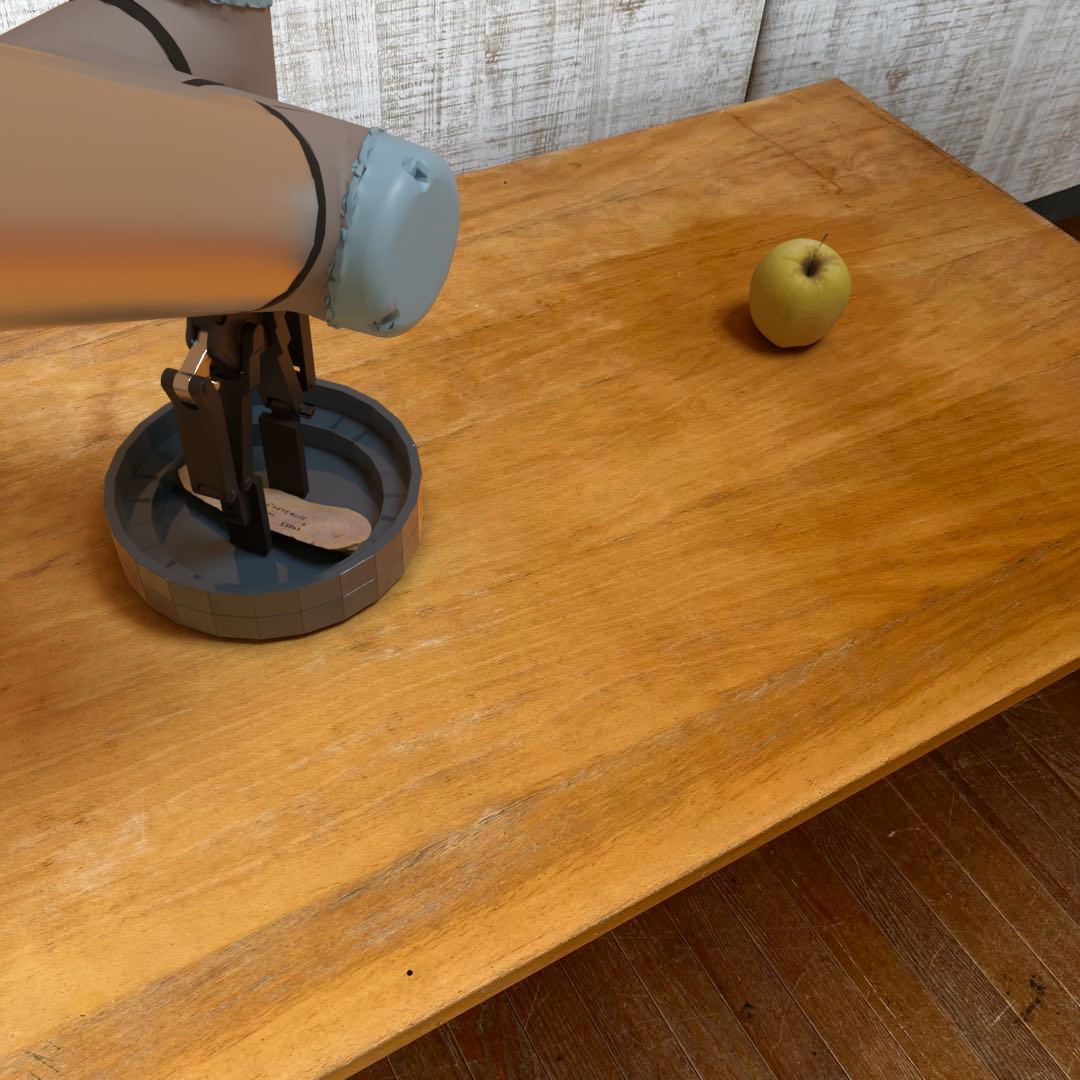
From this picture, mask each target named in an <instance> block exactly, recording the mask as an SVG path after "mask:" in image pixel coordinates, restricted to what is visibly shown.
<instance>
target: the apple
mask: <svg viewBox="0 0 1080 1080" xmlns="http://www.w3.org/2000/svg"><path fill="white" fill-rule="evenodd" d="M828 236H829V233H828V232H827V233H826V234H825V235H824V237H823V238H822V240H821V241H819V240H817V239H813V238H806V237H805V238H804V237H803V238H802V237H801V238H800V237H799V238H794V239H790V240H786V241H784V242H782V243H780V244H778V245H775V246H774V247H773V248H771V249H770V250H768V252H767V253H765V255H764V256H763V257H762V258H761V259H760V260H759V262H758V263H757V265H756V267H755V268H754V270H753V272H752V275H751V278H750V282H749V296H748V306H749V312H750V315H751V319H752V321H753V323H754V325H755V327H756V329H758V331H759V332H760V333H761V334H762V335H763V336H764V337H765V338H766V339H767V340H768V341H769V342H771V343H772V344H773V345H775V346H777V347H779V348H782V349H785V348H792V347H805V346H809V345H812V344H814V343H816V342H817V341H819V340H820V339H823V337H825V335H826V334H827V333H829V332H830V330H832V328H833V327H834V326H835V324H836V323H837V322H838V321H839V320H840V318H841V317H842V315H843V313H844V312H845V310H846V308H847V306H848V304H849V301H850V298H851V294H852V293H851V292H852V286H853V285H852V278H851V277H852V276H851V273H850V271H849V270H850V269H848V267H847V265H846V263H845V261H844V260H843V259H842V257H841V255H840V254H838V253H837V252H836V251H835V250H834V249H833V248H832V247H830V246H829V245H827V244H825V243H824V241H825V240H826V238H827V237H828Z"/></svg>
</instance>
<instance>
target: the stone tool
mask: <svg viewBox="0 0 1080 1080" xmlns="http://www.w3.org/2000/svg"><path fill="white" fill-rule="evenodd" d="M178 474H179V477H180V479H181V482H182V483H183V487H184V488H185V489H186V490H187V491H189V492H191V493H192V494H193V495H195V496H197V497H198V498H200V499H202V500H203V501H205V502H206V503H208V504H211V505H212V506H214V507H216V508H219V510H221V511H222V508H221V507H222V506H221V503H220V500H217V499H213V498H210V497H206V496H203V495H200V494H196V493H194V492H193V491H192V488H191V483H190V479H189V474H188V470H187V466H186V465H184V466H183V467H181V468H180V469H179V470H178ZM264 494H265V500H266V506H267V512H268V518H269V524H270V530H272V531H275V532H278V533H281V534H284V535H286V536H290V537H293V538H295V539H297V540H300V541H303V542H306V543H308V544H312V545H314V546H318V547H321V548H324V549H328V550H334V551H340V552H342V553H345V554H352V553H353V552H354V551H355V550H356V549H357V548H358V547H359V546H360V545H362V544H363V543H364V542H365V541H366V540H367V539H368V538H369V536H370V534H371V532H372V530H371V525H370V523H369V521H368V520H367V519H366V518H365V517H363V516H362V515H361V514H359V513H357V512H355V511H352V510H350V509H347V508H340V507H333V506H325V505H320V504H315V503H311V502H308V501H305V500H302V499H300V498H298V497H295V496H293V495H290V494H287V493H285V492H283V491H280V490H276V489H270V488H264Z"/></svg>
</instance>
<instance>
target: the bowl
mask: <svg viewBox="0 0 1080 1080" xmlns="http://www.w3.org/2000/svg"><path fill="white" fill-rule="evenodd" d="M303 397H304V400H305V401H308V402H312V403H315V405H316V409H315V413H314V416H313V417H312V418H311V419H306V418H302V417H300V419H301V427H302V435H303V444H304V452H305V460H306V468H307V476H308V484H309V492H308V494H307V496H306V497H305V498H302V497H299V496H295V495H293V496H295V497H298V498H300V499H302V500H305V501H308V502H311V503H315V504H320V505H325V506H333V507H340V508H347V509H350V510H352V511H355V512H357V513H359V514H361V515H362V516H363V517H365V518H366V519H367V520H368V521H369V523H370V525H371V530H372V532H371V534H370V536H369V538H368V539H367V540H366V541H365V542H364V543H363V544H362V545H360V546H359V547H358V548H357V549H356V550H355V551H354V552H353V553H352V554H345V553H342V552H340V551H334V550H328V549H324V548H321V547H318V546H314V545H312V544H308V543H306V542H303V541H300V540H297V539H295V538H293V537H290V536H286V535H284V534H281V533H278V532H275V531H272V530H271V536H272V542H273V547H272V549H271V550H270V552H269V553H268V554H267V553H263V552H260V551H257V550H253V549H250V548H246V547H243V546H239V545H236V544H233V543H231V540H230V535H229V530H228V525H227V521H226V520H225V519H224V517H223V513H222V511H221V510H219V508H216V507H214V506H212V505H211V504H208V503H206V502H205V501H203V500H202V499H200V498H198V497H197V496H195V495H193V494H192V493H191V492H189V491H187V490H186V489H185V488H184V487H183V483H182V482H181V479H180V477H179V474H178V470H179V469H180V468H181V467H183V466H184V465H186V461H185V457H184V452H183V448H182V444H181V439H180V435H179V430H178V426H177V422H176V417H175V413H174V408H173V404H172V402H171V401H169V402H167V403H165V404H163V405H162V406H161V407H160V408H158V409H156V410H155V411H154V412H153V413H151V414H150V415H148V416H147V417H146V418H144V419H143V420H141V421H140V422H138V424H137V425H136V426H135V427H134V428H133V429H132V430H131V432H130V433H129V434H128V436H127V437H126V438H125V439H124V440H123V441H122V443H121V444H120V445H119V446H118V447H117V448H116V450H115V453H114V455H113V457H112V459H111V461H110V464H109V466H108V468H107V470H106V473H105V476H104V479H103V495H102V497H103V498H102V501H103V502H102V508H103V509H102V510H103V512H104V516H105V519H106V522H107V526H108V528H109V532H110V535H111V537H112V541H113V544H114V547H115V550H116V553H117V557H118V559H119V562H120V564H121V567H122V571H123V572H124V575H125V577H126V578H125V579H126V580H127V582H128V583H129V584H130V586H132V588H133V589H134V590H135V591H136V592H137V594H138V595H139V596H140V597H141V599H143V601H144V602H145V603H146V604H147V605H148V606H149V608H151V609H153V610H155V611H156V612H159V613H160V614H161V615H163V616H165V617H166V618H168V619H170V620H171V621H173V622H174V623H176V624H178V625H180V626H183V627H186V628H190V629H193V630H196V631H200V632H203V633H206V634H210V635H213V636H216V637H220V638H236V639H248V640H249V639H250V640H267V639H268V640H269V639H275V638H284V637H291V636H298V635H304V634H308V633H311V632H313V631H317V630H320V629H322V628H325V627H329V626H331V625H335V624H337V623H339V622H342V621H345V620H347V619H348V618H350V617H352V616H353V615H355V614H357V613H358V612H360V611H362V610H364V609H365V608H367V607H369V606H370V605H372V604H373V603H375V602H376V601H378V600H379V599H381V597H382V596H383V595H384V594H385V593H386V592H387V591H388V590H389V589H390V588H391V587H392V586H393V585H394V584H395V583H396V582H397V581H398V580H399V579H400V578H401V577H402V576H403V575H404V573H405V572H406V569H407V568H408V566H409V565H410V563H411V561H412V559H413V557H414V556H415V554H416V551H417V549H418V548H419V545H420V541H421V535H422V528H423V522H424V490H423V489H424V488H423V486H424V485H423V484H424V483H423V470H422V465H421V460H420V455H419V454H420V453H419V449H418V446H417V444H416V442H415V441H414V438H413V437H412V435H411V434H410V433H409V431H408V429H407V428H406V426H405V425H404V423H403V422H402V420H401V419H400V418H399V417H398V416H396V415H395V414H394V413H393V412H392V411H390V410H389V409H388V408H387V407H386V406H385V405H383V404H382V403H381V402H379V400H377V399H375V398H373V397H371V396H369V395H368V394H365V393H363V392H361V391H359V390H357V389H355V388H353V387H351V386H348V385H346V384H342V383H338V382H335V381H330V380H327V379H323V378H319V377H316V385H315V388H314V389H313V391H312V392H306V391H305V392H304V395H303ZM263 411H264V412H268V413H271V409H269V408H265V407H264V405H263V402H262V399H261V397H260V394H259V392H258V389H257V387H256V388H255V389H254V390H253V391H252V422H253V474H255V475H259V476H262V482H263V488H269V483H268V477H267V471H266V465H265V459H264V453H263V447H262V440H261V434H260V428H259V422H258V418H259V416H260V415H261V414H262V412H263ZM287 494H288V493H287ZM290 495H291V494H290Z"/></svg>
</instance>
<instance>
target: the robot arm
mask: <svg viewBox="0 0 1080 1080" xmlns="http://www.w3.org/2000/svg"><path fill="white" fill-rule="evenodd" d="M272 7H273V0H67V1H65V2H62V3H61V4H58V5H56V6H55V7H53V8H51V9H48V10H46V11H44V12H43V13H40V14H39V15H37V16H35V17H33V18H31V19H29V20H27V21H25V22H23V23H21V24H18V25H17V26H15V27H13V28H11V29H9V30H7V31H5V32H2V33H1V34H0V333H3V332H4V333H5V332H17V331H18V332H19V331H28V330H29V331H30V330H31V331H32V330H43V329H54V328H67V327H80V326H92V325H93V326H94V325H107V324H119V323H120V324H121V323H131V322H132V323H133V322H142V321H153V320H154V321H157V320H169V319H170V320H171V319H180V318H182V319H183V318H185V319H186V320H185V321H186V322H185V323H186V324H185V335H184V336H185V337H184V338H185V344H186V346H187V348H188V350H189V351H188V353H187V355H186V356H185V359H184V360H183V363H182V365H181V366H180V368H179V369H177V368H173V367H166V368H165V369H164V370H163V371H162V373H161V376H160V386H161V389H162V390H163V391H164V393H165V394H166V396H167V397H168V399H169V401H170V402H172V404H173V408H174V413H175V417H176V422H177V426H178V430H179V435H180V439H181V444H182V448H183V452H184V457H185V461H186V466H187V470H188V474H189V479H190V483H191V488H192V491H193V492H194V493H196V494H200V495H203V496H206V497H210V498H213V499H217V500H220V503H221V506H222V507H221V508H222V513H223V517H224V519H225V520H226V521H227V525H228V530H229V535H230V540H231V543H233V544H236V545H239V546H243V547H246V548H250V549H253V550H257V551H260V552H263V553H267V554H268V553H269V552H270V550H271V549H272V547H273V542H272V536H271V530H270V524H269V518H268V512H267V506H266V500H265V494H264V488H263V482H262V476H259V475H255V474H253V422H252V391H253V390H254V389H255V388H256V387H257V389H258V392H259V394H260V397H261V399H262V402H263V405H264V407H265V408H269V409H271V413H268V412H264V411H263V412H262V414H261V415H260V416H259V418H258V422H259V428H260V434H261V440H262V447H263V453H264V459H265V465H266V471H267V477H268V483H269V488H270V489H276V490H280V491H283V492H285V493H288V494H291V495H295V496H299V497H302V498H305V497H306V496H307V494H308V492H309V484H308V476H307V468H306V460H305V452H304V444H303V435H302V427H301V419H300V417H302V418H306V419H311V418H312V417H313V416H314V413H315V409H316V405H315V403H312V402H308V401H305V400H304V397H303V395H304V392H305V391H306V392H312V391H313V389H314V388H315V385H316V378H317V376H316V375H317V374H316V367H315V366H316V365H315V357H314V349H313V348H314V347H313V341H312V340H313V339H312V332H311V331H312V330H311V323H310V321H311V320H310V317H312V318H315V319H318V320H320V321H323V322H324V323H325V322H326V325H327V327H330V328H333V329H334V330H341V329H345V330H349V331H353V332H357V333H361V334H365V335H368V336H372V337H376V338H382V339H391V338H396V337H399V336H402V335H404V334H407V333H408V332H410V331H412V329H413V328H415V327H416V326H417V325H418V324H419V323H420V322H421V321H422V320H424V318H425V317H426V315H428V313H429V312H430V310H431V309H432V307H433V306H434V305H435V303H436V301H437V299H438V298H439V295H440V294H441V292H442V289H443V288H444V285H445V283H446V281H447V278H448V275H449V273H450V269H451V266H452V262H453V259H454V255H455V251H456V246H457V241H458V235H459V231H460V225H461V224H460V222H461V199H460V193H459V188H458V182H457V180H456V177H455V174H454V172H453V170H452V169H451V167H450V165H449V164H448V162H447V161H446V160H445V159H444V157H442V155H441V154H439V153H438V152H436V151H435V150H434V149H431V148H429V147H426V146H423V145H420V144H418V143H415V142H412V141H410V140H406V139H404V138H401V137H398V136H396V135H394V134H391V133H389V131H388V130H386V129H385V128H381V127H378V126H371V127H369V126H368V127H367V126H364V125H361V124H357V123H354V122H351V121H347V120H345V119H341V118H338V117H334V116H331V115H327V114H326V113H325V114H324V113H321V112H318V111H315V110H311V109H308V108H305V107H301V106H297V105H294V104H291V103H287V102H284V101H279V92H278V91H279V89H278V81H277V68H276V58H275V57H276V56H275V48H274V46H275V45H274V37H273V36H274V34H273V24H272V11H271V8H272ZM295 368H298V369H299V370H297V369H295Z"/></svg>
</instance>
